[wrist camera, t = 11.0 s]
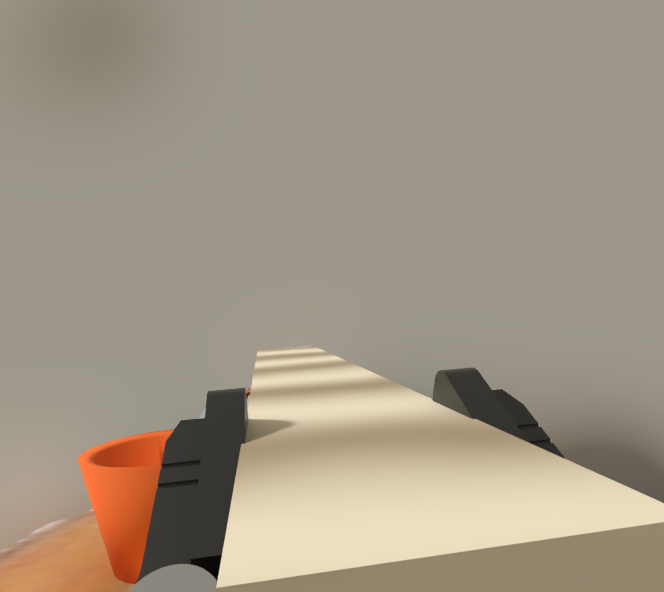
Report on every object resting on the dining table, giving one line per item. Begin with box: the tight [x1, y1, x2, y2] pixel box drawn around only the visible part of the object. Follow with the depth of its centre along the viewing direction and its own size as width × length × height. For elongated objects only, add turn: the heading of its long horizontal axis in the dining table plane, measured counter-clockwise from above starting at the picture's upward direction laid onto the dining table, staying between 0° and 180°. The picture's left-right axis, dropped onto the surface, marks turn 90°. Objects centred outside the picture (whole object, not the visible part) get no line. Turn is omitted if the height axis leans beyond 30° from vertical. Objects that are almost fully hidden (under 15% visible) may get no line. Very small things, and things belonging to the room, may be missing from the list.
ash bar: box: [216, 346, 664, 592], centre depth 20 cm, size 32×4×3 cm, turn 8°
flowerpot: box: [78, 429, 174, 584], centre depth 87 cm, size 25×25×20 cm
